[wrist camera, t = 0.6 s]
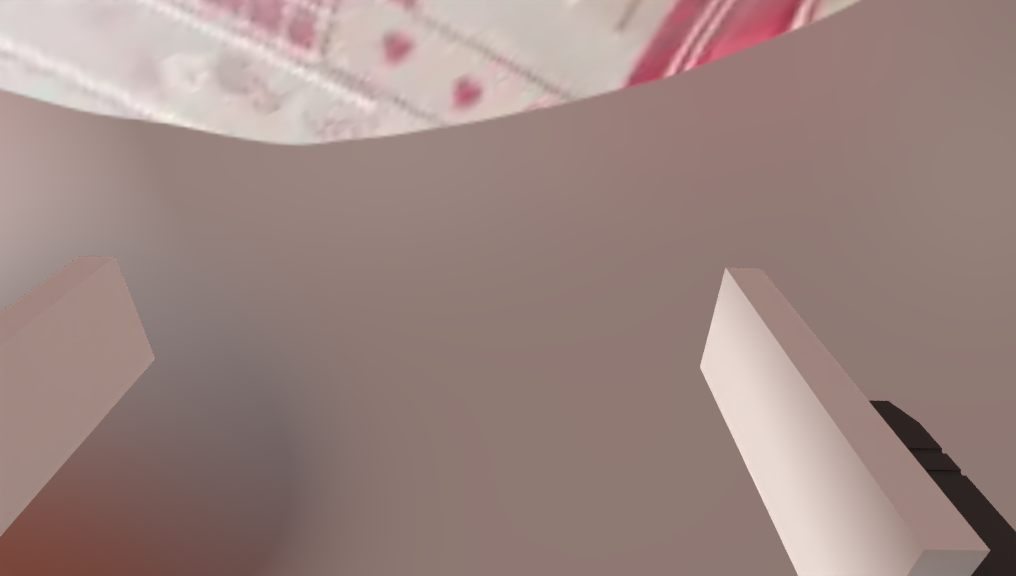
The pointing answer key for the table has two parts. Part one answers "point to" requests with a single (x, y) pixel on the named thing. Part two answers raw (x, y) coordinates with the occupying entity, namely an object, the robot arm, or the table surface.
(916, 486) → the robot arm
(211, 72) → the table surface
